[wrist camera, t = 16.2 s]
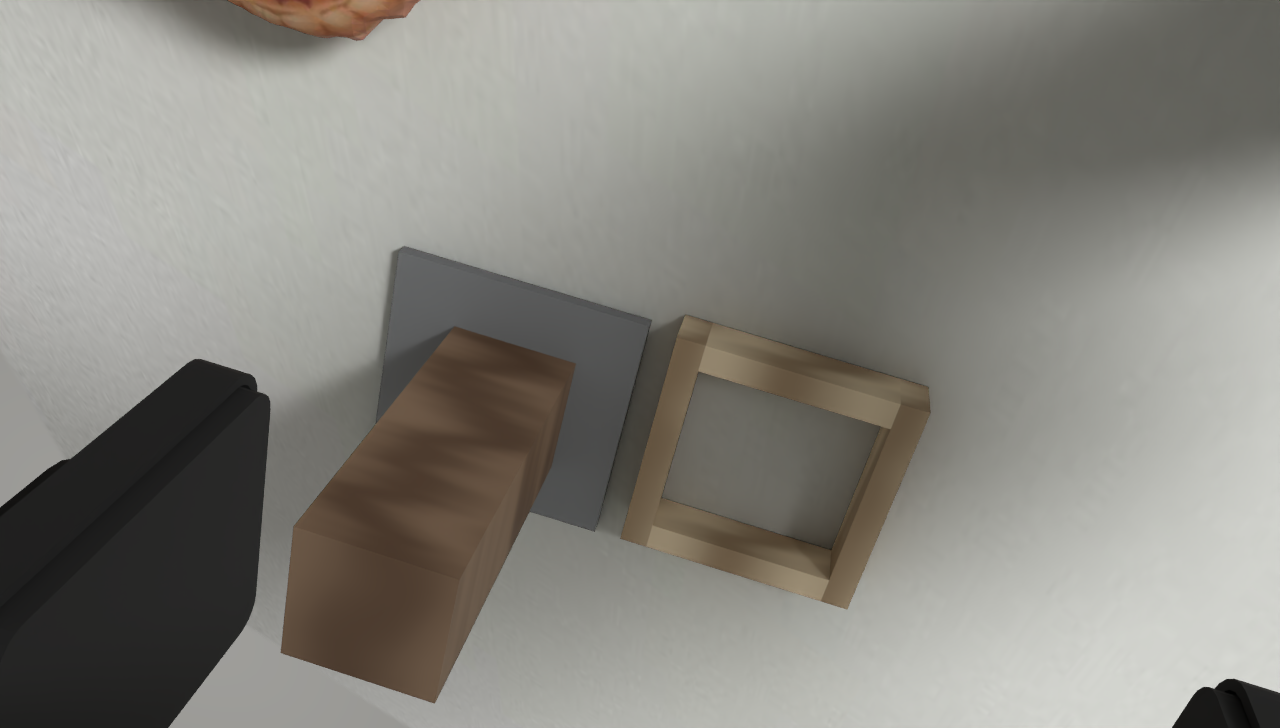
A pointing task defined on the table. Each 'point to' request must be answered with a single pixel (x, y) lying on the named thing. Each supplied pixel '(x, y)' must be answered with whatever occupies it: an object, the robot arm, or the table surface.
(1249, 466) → the table surface
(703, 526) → the pocket
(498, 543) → the walnut block
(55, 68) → the table surface
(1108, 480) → the table surface
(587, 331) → the mat
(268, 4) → the anatomical model
